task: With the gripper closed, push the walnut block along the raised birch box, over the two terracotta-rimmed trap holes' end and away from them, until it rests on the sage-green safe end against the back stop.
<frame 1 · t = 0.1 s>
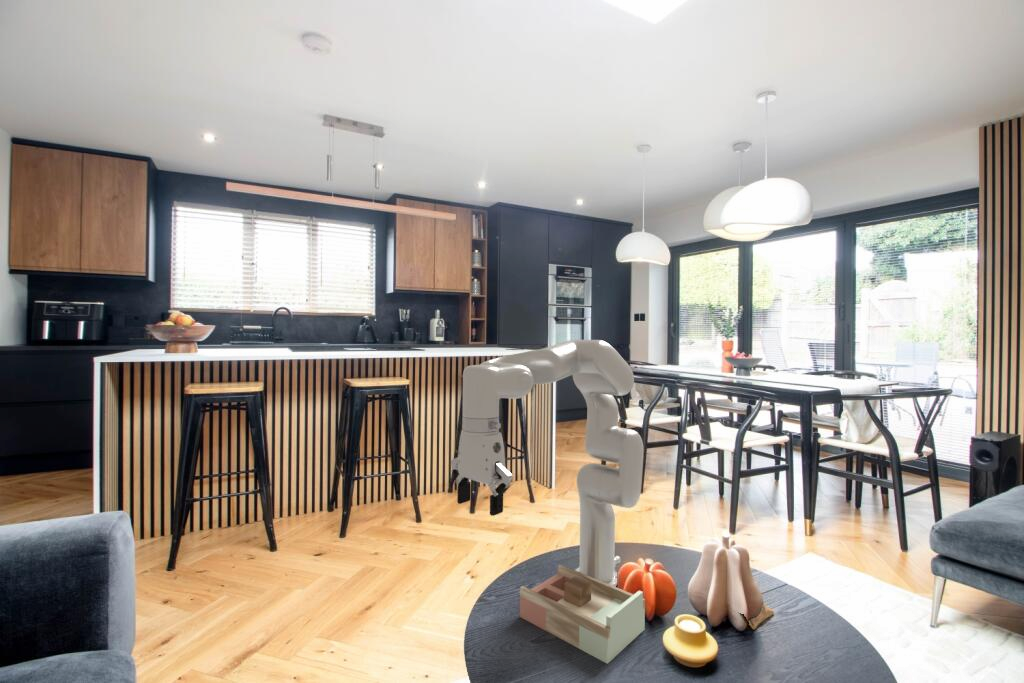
hand: (479, 507, 99), 31 cm above the table, fingers open, 9 cm apart
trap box: (580, 622, 112), on the table
walnut block: (577, 600, 113), point 5 cm above the table, touching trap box
shard: (758, 619, 115), on the table
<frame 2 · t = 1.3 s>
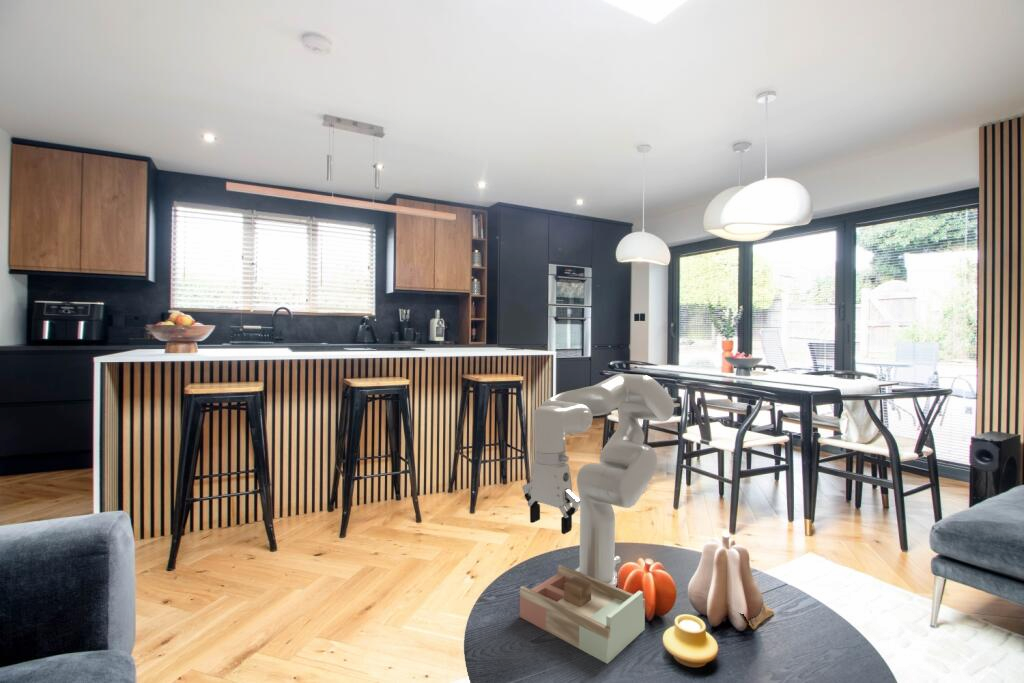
hand: (550, 526, 117), 20 cm above the table, fingers open, 9 cm apart
nothing on the table moved.
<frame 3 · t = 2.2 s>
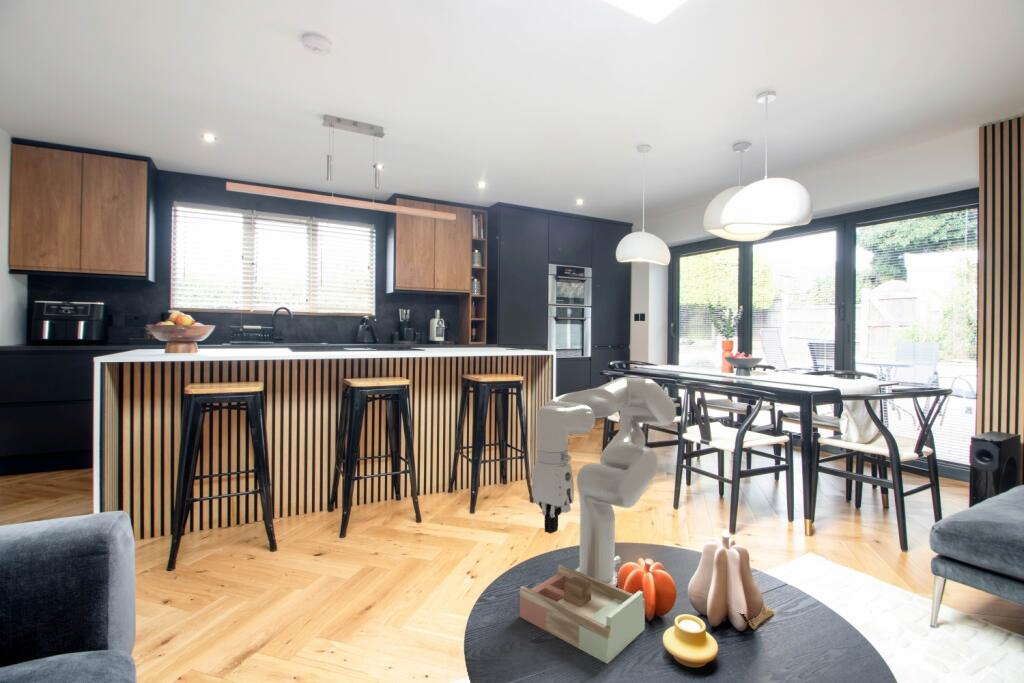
hand: (551, 531, 118), 19 cm above the table, fingers closed
nothing on the table moved.
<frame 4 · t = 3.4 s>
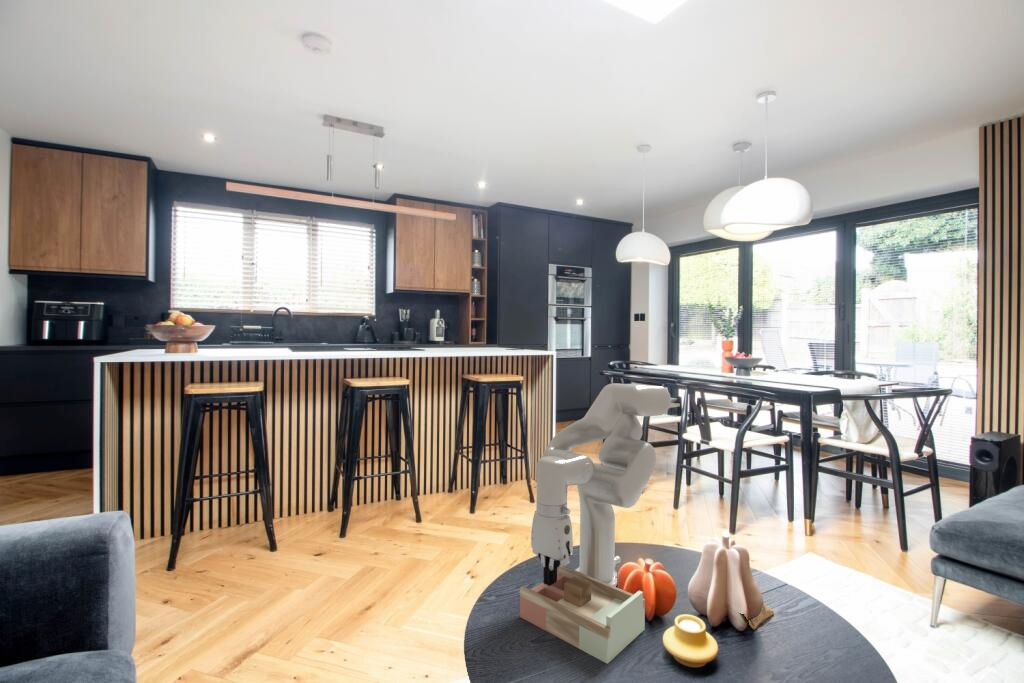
hand: (550, 582, 118), 6 cm above the table, fingers closed
nothing on the table moved.
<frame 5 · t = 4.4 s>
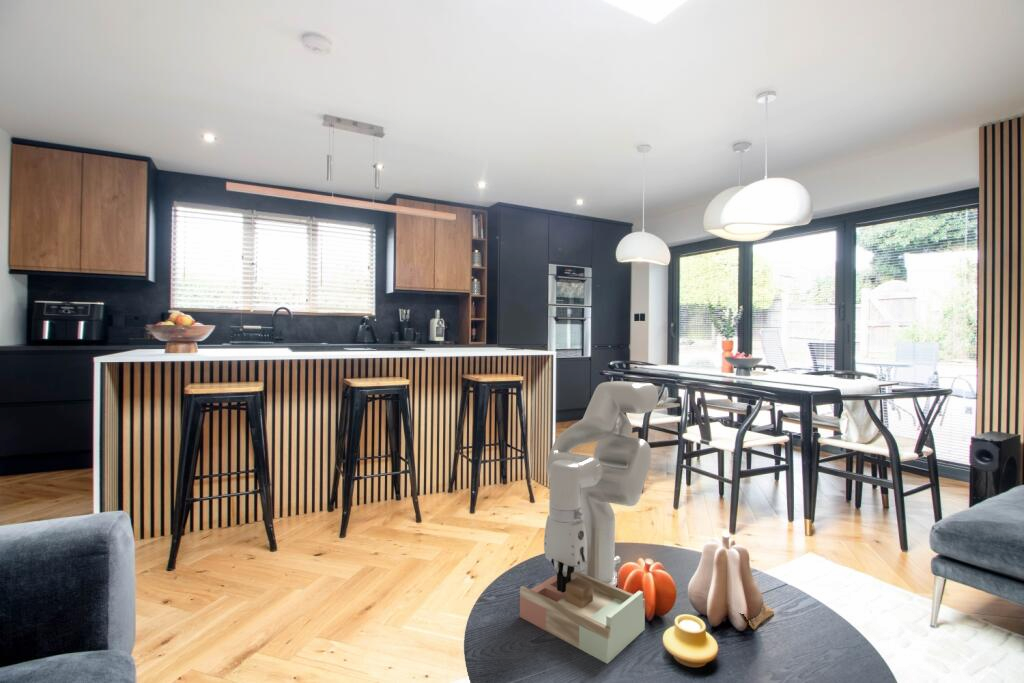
hand: (563, 589, 115), 6 cm above the table, fingers closed
walnut block: (579, 600, 112), point 5 cm above the table, touching gripper, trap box
everything else where it was.
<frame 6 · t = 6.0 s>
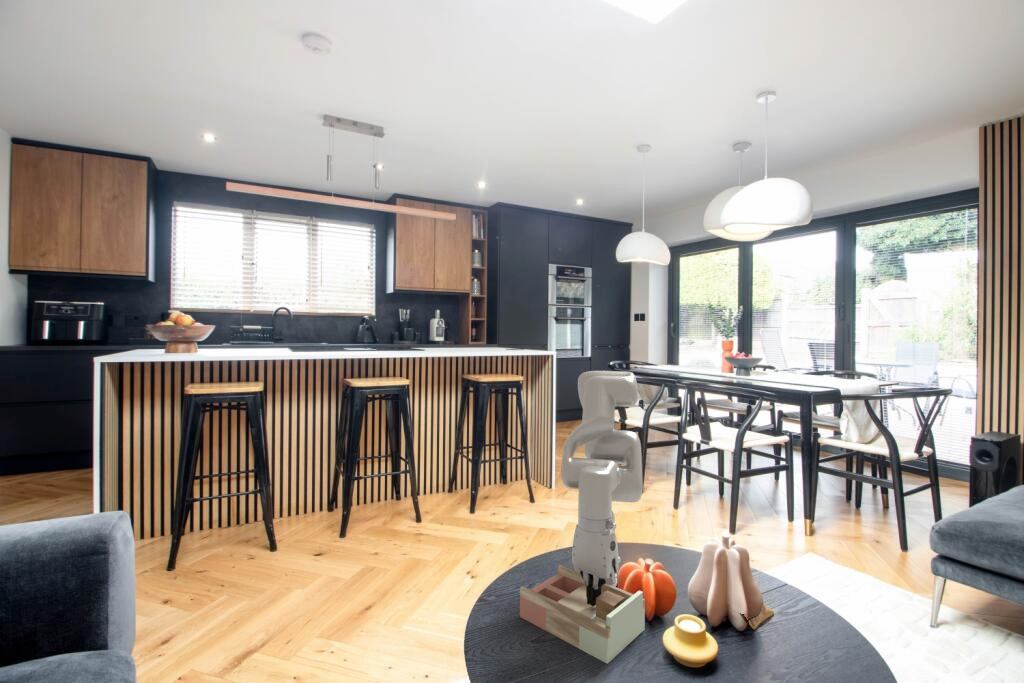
hand: (593, 602, 109), 6 cm above the table, fingers closed
walnut block: (610, 615, 106), point 5 cm above the table, touching gripper, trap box
everything else where it was.
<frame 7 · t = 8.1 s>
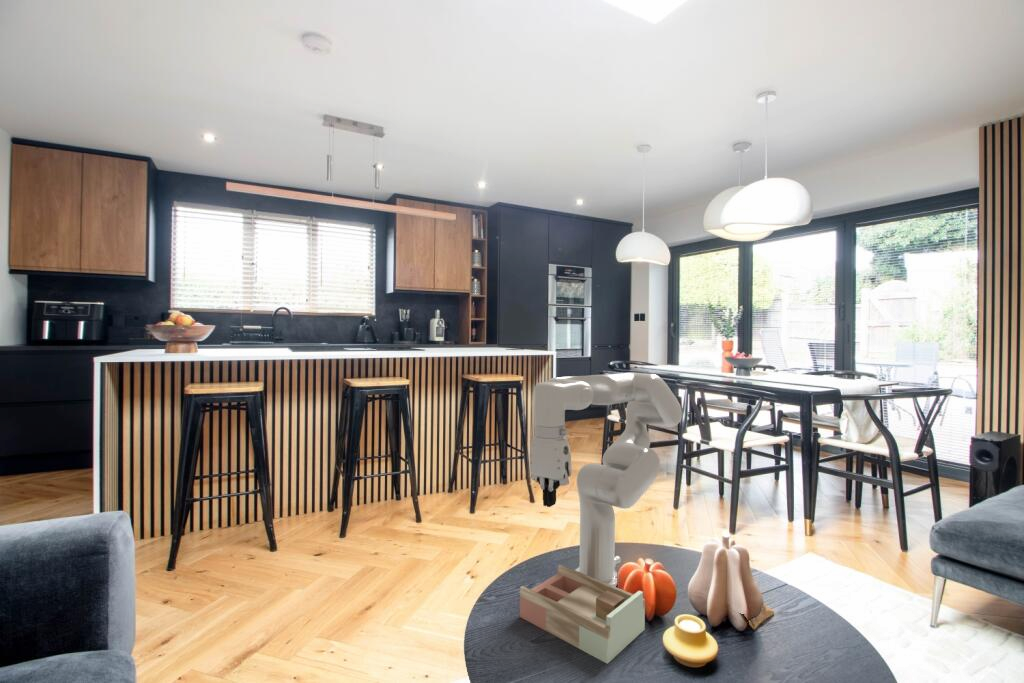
hand: (549, 504, 120), 25 cm above the table, fingers closed
walnut block: (610, 615, 106), point 5 cm above the table, touching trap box
everything else where it was.
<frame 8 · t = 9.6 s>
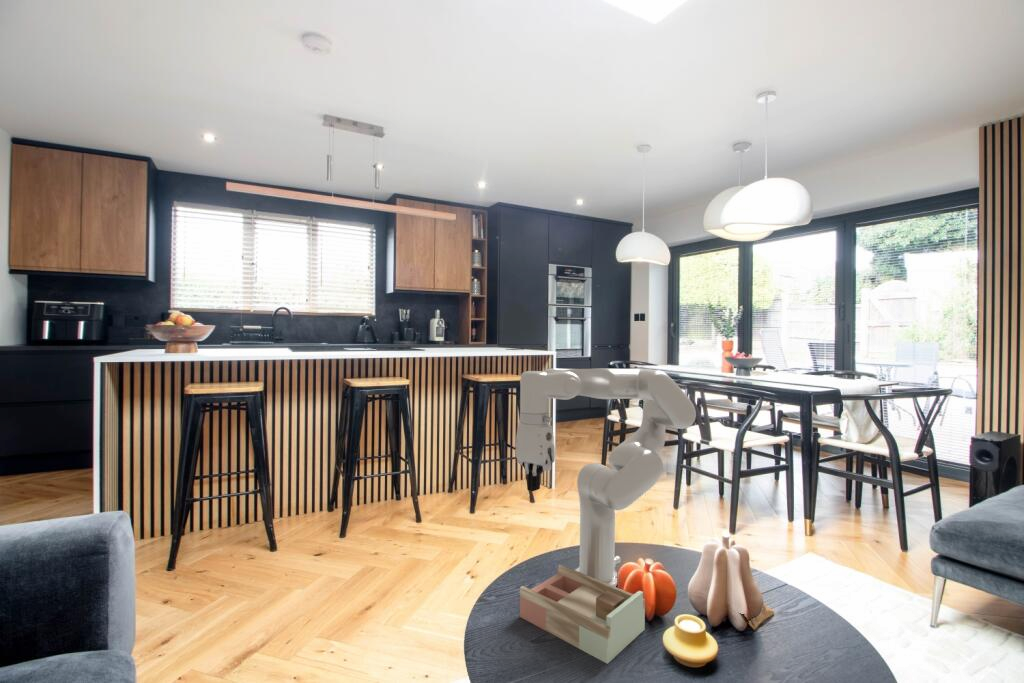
hand: (533, 489, 124), 27 cm above the table, fingers closed
nothing on the table moved.
at the end: walnut block inside the target area on the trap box (1.5 cm from its centre), point 5.0 cm above the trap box's base; walnut block tilted 0°; the gripper is holding nothing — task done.
